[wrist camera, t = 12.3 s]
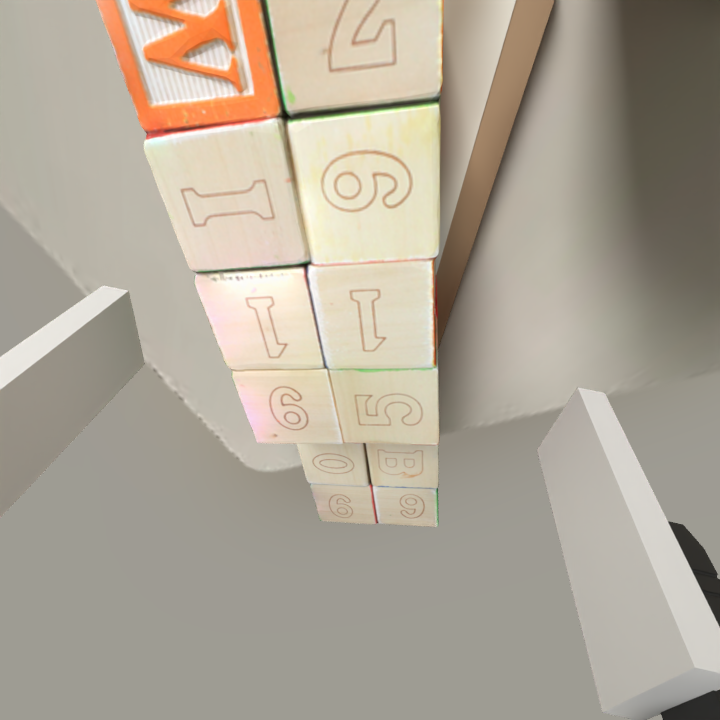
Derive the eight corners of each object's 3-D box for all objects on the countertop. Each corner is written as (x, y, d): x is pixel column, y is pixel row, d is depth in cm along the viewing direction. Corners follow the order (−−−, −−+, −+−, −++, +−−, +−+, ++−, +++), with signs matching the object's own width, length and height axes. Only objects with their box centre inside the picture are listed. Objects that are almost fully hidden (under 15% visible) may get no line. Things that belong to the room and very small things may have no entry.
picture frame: (557, -40, 16) (572, -52, 14) (415, 402, 30) (414, 421, 29) (309, -87, 16) (295, -104, 15) (284, 374, 31) (275, 392, 29)
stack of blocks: (435, 404, 28) (439, 594, 18) (345, 403, 29) (301, 582, 19) (437, -24, 15) (452, -177, 5) (278, 2, 16) (51, -87, 7)
